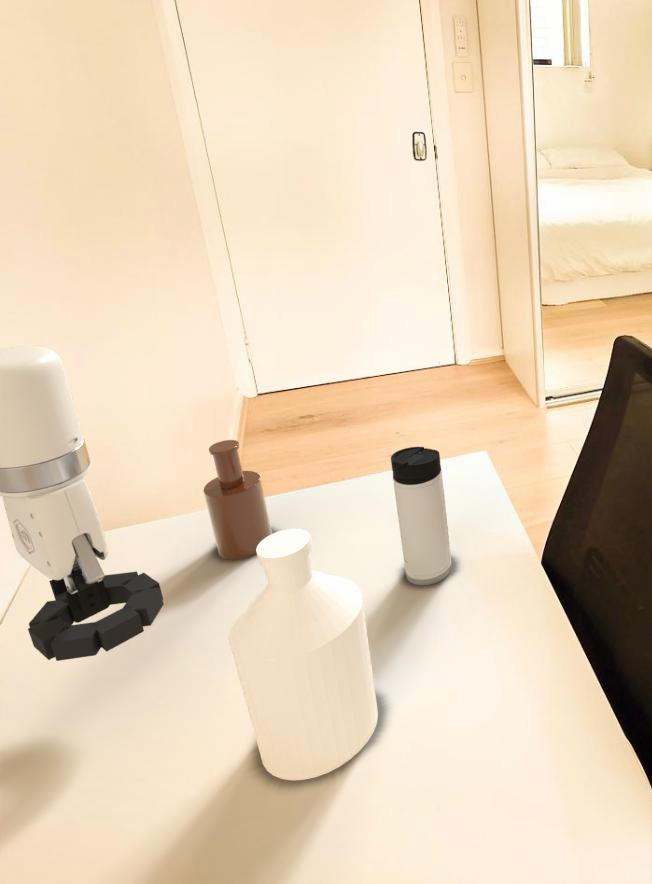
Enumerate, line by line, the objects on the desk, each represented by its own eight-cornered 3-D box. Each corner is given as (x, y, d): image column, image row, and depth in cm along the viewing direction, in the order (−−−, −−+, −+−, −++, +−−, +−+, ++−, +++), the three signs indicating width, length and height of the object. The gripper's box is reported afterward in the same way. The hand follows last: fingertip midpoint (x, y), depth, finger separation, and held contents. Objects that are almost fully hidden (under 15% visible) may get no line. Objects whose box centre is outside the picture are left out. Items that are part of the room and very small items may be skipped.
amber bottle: (235, 566, 100) (211, 463, 94) (208, 550, 103) (183, 449, 97) (283, 540, 106) (263, 442, 100) (256, 526, 109) (235, 429, 103)
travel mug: (394, 581, 98) (377, 459, 91) (425, 553, 104) (411, 437, 97) (431, 592, 96) (416, 468, 90) (460, 563, 102) (449, 445, 95)
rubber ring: (64, 675, 69) (58, 656, 68) (19, 633, 73) (12, 615, 72) (180, 611, 77) (175, 594, 77) (133, 577, 82) (128, 561, 81)
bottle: (248, 800, 68) (194, 597, 60) (268, 705, 78) (225, 520, 70) (379, 762, 72) (347, 567, 64) (382, 676, 83) (354, 498, 74)
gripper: (-42, 458, 71) (9, 601, 77) (28, 508, 64) (78, 661, 70) (50, 429, 77) (90, 564, 84) (123, 472, 70) (161, 615, 77)
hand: (84, 607), depth 77 cm, fingers closed on rubber ring, 2 cm apart
